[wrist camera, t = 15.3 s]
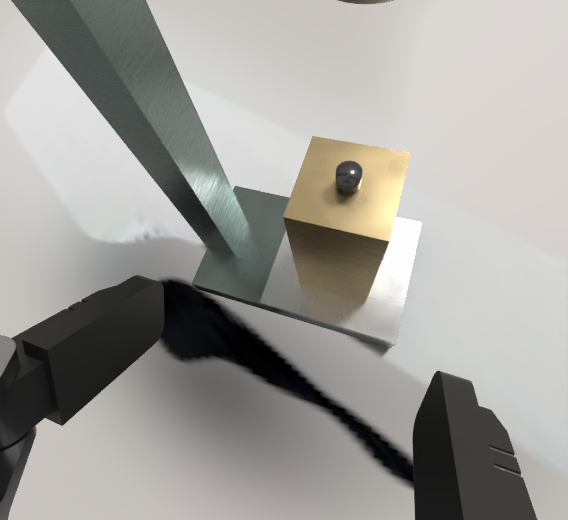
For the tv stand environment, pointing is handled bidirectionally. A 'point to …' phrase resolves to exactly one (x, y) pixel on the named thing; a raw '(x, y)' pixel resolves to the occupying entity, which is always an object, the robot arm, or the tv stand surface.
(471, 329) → the tv stand surface
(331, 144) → the block
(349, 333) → the arbor press
